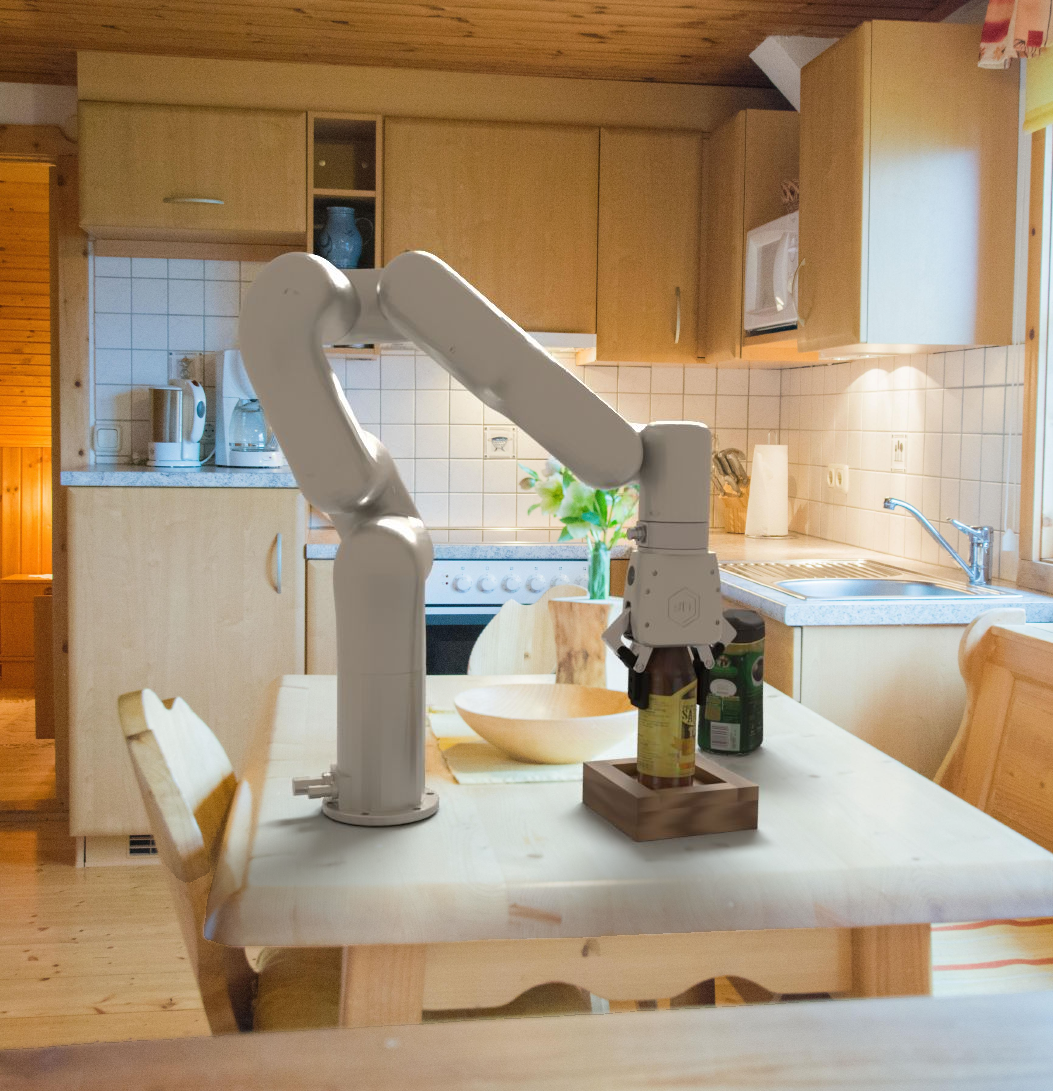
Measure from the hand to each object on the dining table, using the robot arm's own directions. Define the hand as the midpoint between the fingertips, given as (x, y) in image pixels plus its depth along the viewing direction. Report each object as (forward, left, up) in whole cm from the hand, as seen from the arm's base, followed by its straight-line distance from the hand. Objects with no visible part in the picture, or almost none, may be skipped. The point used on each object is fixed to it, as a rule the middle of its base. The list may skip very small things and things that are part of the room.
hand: (668, 703), depth 122 cm
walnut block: (0, 0, -12) cm, 12 cm away
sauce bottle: (0, 0, -9) cm, 9 cm away
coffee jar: (+21, +23, -12) cm, 34 cm away
